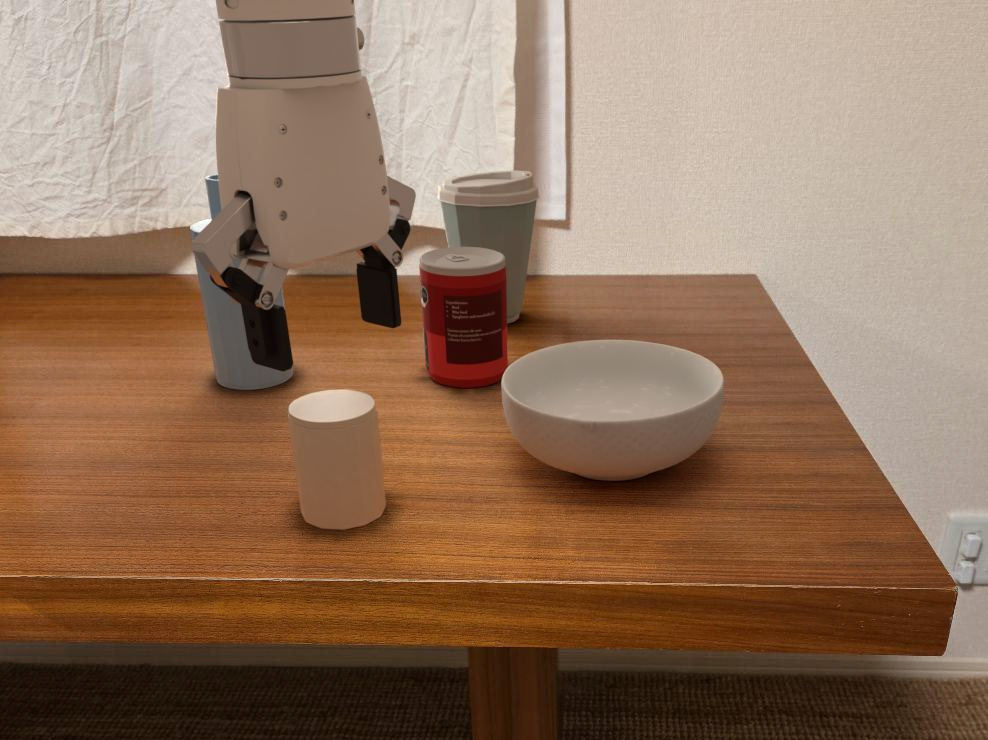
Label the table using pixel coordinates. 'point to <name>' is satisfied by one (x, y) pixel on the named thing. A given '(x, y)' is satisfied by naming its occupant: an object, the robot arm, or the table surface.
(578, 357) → the cereal bowl
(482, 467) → the table surface
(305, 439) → the paper cup
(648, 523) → the table surface
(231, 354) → the water bottle
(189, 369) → the table surface
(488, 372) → the canned food
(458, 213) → the disposable coffee cup
